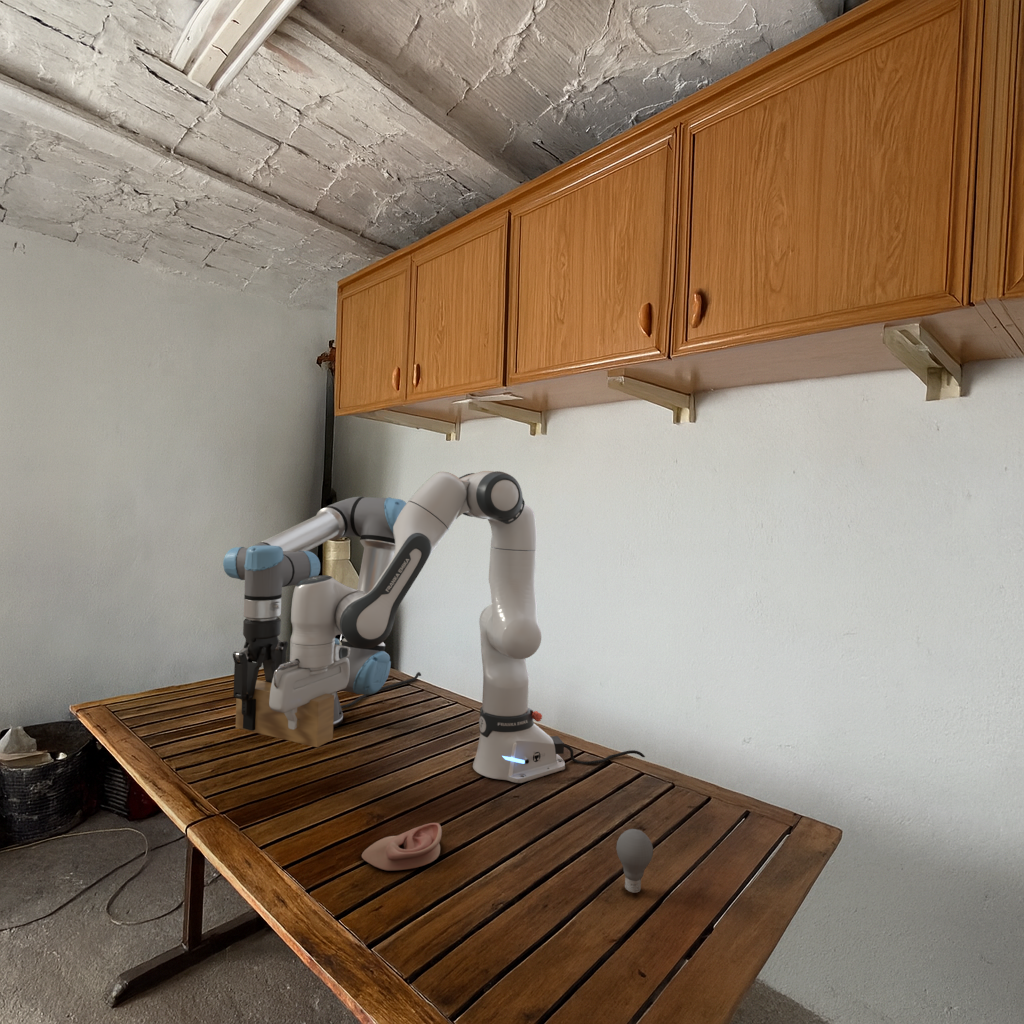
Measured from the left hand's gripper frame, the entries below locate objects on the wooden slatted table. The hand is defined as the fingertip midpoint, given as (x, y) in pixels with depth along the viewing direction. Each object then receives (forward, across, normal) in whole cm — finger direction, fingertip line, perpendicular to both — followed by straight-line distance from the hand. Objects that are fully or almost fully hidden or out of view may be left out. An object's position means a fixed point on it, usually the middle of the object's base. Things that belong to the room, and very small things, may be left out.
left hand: (259, 724), depth 137 cm
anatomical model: (+13, -7, -42) cm, 45 cm away
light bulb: (+13, +1, -82) cm, 83 cm away
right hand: (-3, 0, -14) cm, 14 cm away
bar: (+1, 0, -7) cm, 7 cm away
